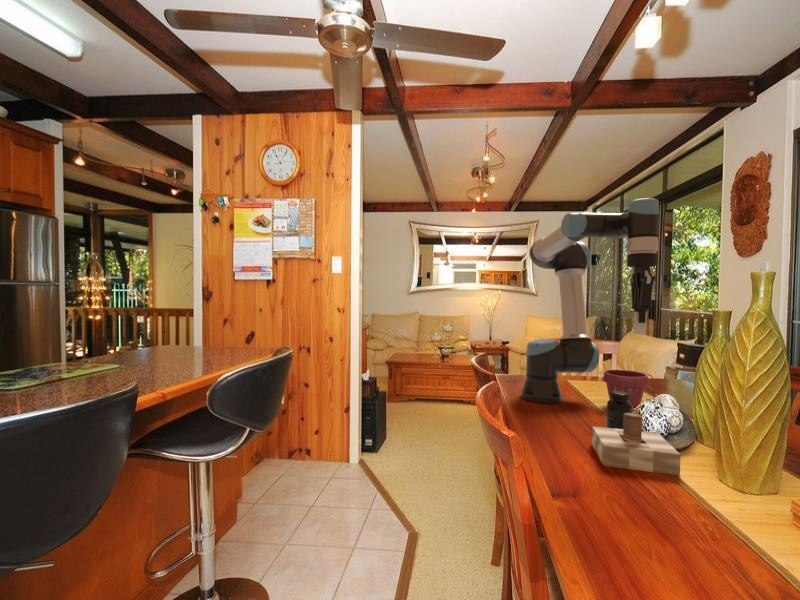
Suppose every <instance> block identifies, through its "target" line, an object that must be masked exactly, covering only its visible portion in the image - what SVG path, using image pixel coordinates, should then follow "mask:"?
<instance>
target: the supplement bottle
mask: <svg viewBox="0 0 800 600" xmlns="http://www.w3.org/2000/svg"><path fill="white" fill-rule="evenodd" d="M611 398H612V399H611V400H610V399H609V400H608V401H607V402H606V420H605V421H606V425H605V428H615V429H623V420H624V413H633V414H634V412H633V406H632V404H631V403H630V402H628V400H629V394H628V393H626V392H622V391H612V392H611Z"/></svg>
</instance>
